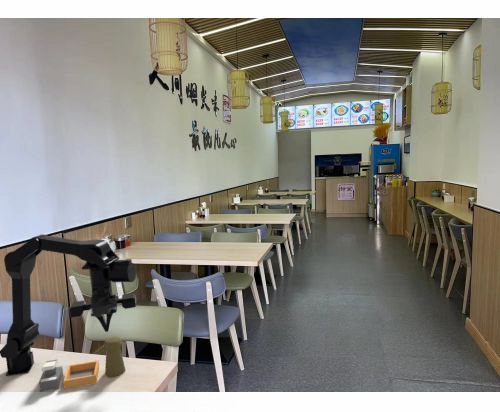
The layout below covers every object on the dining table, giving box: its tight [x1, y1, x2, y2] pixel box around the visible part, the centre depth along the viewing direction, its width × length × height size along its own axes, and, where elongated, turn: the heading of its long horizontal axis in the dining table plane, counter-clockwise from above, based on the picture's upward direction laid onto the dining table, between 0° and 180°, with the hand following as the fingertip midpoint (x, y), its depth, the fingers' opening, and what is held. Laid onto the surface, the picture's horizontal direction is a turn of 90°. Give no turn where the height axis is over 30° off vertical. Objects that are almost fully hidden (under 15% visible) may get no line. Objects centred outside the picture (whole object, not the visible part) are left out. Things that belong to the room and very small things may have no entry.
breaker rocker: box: [41, 359, 59, 372], centre depth 114 cm, size 3×6×1 cm, turn 16°
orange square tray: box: [63, 360, 100, 390], centre depth 117 cm, size 9×9×2 cm
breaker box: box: [38, 366, 64, 393], centre depth 114 cm, size 5×7×5 cm
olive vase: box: [103, 336, 126, 379], centre depth 119 cm, size 6×6×11 cm
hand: (107, 331), depth 117 cm, fingers closed
